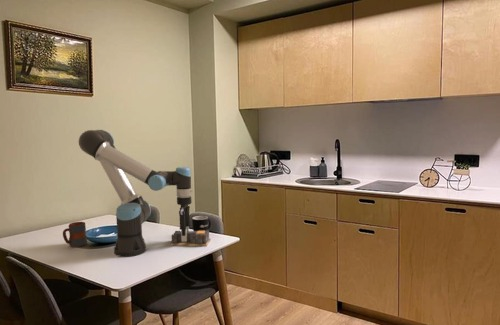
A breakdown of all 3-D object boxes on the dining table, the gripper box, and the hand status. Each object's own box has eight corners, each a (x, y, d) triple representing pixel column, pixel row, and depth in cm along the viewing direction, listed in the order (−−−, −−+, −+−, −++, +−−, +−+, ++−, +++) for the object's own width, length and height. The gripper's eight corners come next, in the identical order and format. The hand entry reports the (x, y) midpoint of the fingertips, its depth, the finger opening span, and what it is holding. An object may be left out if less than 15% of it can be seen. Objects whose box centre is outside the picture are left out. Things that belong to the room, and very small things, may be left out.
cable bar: (173, 242, 198) (173, 233, 197) (176, 239, 202) (175, 231, 202) (203, 241, 197) (203, 233, 196) (205, 239, 201) (205, 230, 201)
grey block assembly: (170, 245, 195) (170, 234, 195) (175, 240, 205) (175, 229, 205) (206, 246, 194) (206, 235, 193) (210, 240, 204) (210, 229, 203)
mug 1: (59, 247, 195) (58, 225, 194) (81, 241, 204) (80, 220, 203) (68, 250, 190) (66, 227, 189) (90, 244, 199) (89, 222, 198)
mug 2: (199, 238, 208) (198, 220, 207) (189, 235, 214) (188, 217, 213) (215, 233, 217) (215, 216, 216) (205, 231, 223) (205, 214, 222)
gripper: (187, 199, 189) (188, 245, 191) (194, 193, 206) (195, 235, 208) (172, 199, 189) (174, 244, 191) (181, 193, 206) (182, 235, 208)
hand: (185, 239), depth 200 cm, fingers closed on cable bar, 4 cm apart
